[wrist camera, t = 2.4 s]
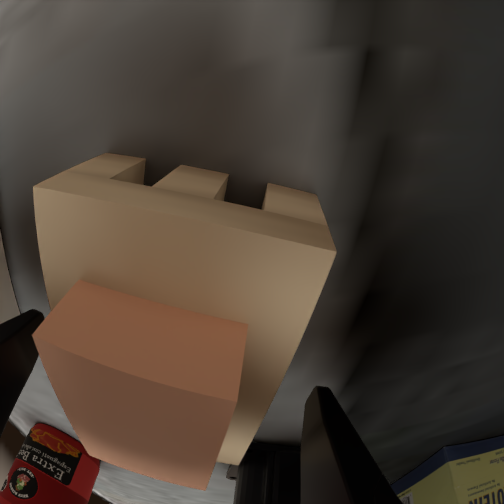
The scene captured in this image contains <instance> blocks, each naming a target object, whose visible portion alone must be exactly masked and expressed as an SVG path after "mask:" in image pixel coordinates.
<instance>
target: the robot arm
mask: <svg viewBox="0 0 504 504" xmlns="http://www.w3.org/2000/svg"><path fill="white" fill-rule="evenodd" d="M43 321H44V315H43V313H42V312H40V311H37V310H35V309H31V310H29V311H27V312H24V313H22V314H20V315H18V316H16V317H14V318H12V319H10V320H7V321H5V322H3V323H1V324H0V437H1V435H2V432H3V430H4V428H5V426H6V423H7V421H8V419H9V417H10V414H11V412H12V410H13V408H14V406H15V404H16V402H17V400H18V398H19V396H20V394H21V392H22V390H23V388H24V386H25V384H26V382H27V380H28V378H29V376H30V374H31V372H32V370H33V368H34V365H35V363H36V360H37V358H38V356H39V353H38V350H37V348H36V345H35V342H34V339H33V337H32V334H33V333H34V332H35V331H36V329H37V328H38V327H39V326H40V324H41V323H42V322H43ZM226 478H228V479H231V480H236V487H235V495H234V503H233V504H403V503H402V501H401V500H400V499H399V497H398V496H397V495H396V493H395V492H394V490H393V489H392V487H391V486H390V484H389V483H388V481H387V480H386V478H385V476H384V475H382V472H381V470H380V469H379V467H378V465H377V464H376V462H375V461H374V459H373V457H372V456H371V454H370V453H369V451H368V449H367V448H366V446H365V445H364V443H363V441H362V440H361V438H360V437H359V435H358V433H357V432H356V430H355V428H354V427H353V425H352V424H351V422H350V420H349V419H348V417H347V416H346V414H345V412H344V411H343V409H342V408H341V406H340V404H339V403H338V401H337V399H336V398H335V396H334V395H333V393H332V391H331V390H330V389H329V388H328V387H324V386H316V387H315V388H314V389H313V391H312V392H311V394H310V396H309V397H308V399H307V401H306V404H305V411H304V421H303V431H302V440H301V448H298V447H287V446H278V445H270V444H262V443H255V442H251V443H250V445H249V447H248V449H247V451H246V453H245V454H244V456H243V458H242V460H241V462H240V463H239V465H233V464H231V465H230V467H229V469H228V471H227V475H226Z"/></svg>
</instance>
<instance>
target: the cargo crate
mask: <svg viewBox="0 0 504 504" xmlns="http://www.w3.org/2000/svg"><path fill="white" fill-rule="evenodd" d="M247 330H248V324H245V323H240V322H236V321H231V320H227V319H222V318H218V317H214V316H209V315H205V314H201V313H197V312H193V311H189V310H185V309H181V308H177V307H173V306H169V305H165V304H161V303H158V302H154V301H150V300H147V299H143V298H139V297H136V296H132V295H129V294H125V293H122V292H118V291H115V290H112V289H108V288H105V287H102V286H98V285H95V284H92V283H89V282H85V281H82V280H78V281H77V282H76V283H75V284H74V286H73V287H72V288H71V289H70V290H69V291H68V292H67V293H66V295H65V296H64V297H63V298H62V299H61V300H60V302H59V303H58V304H57V305H56V306H55V307H54V309H53V310H52V311H51V312H50V313H49V315H48V316H47V317H46V318H45V319H44V321H43V322H42V323H41V324H40V326H39V327H38V328H37V329H36V331H35V332H34V333H33V334H32V337H33V339H34V342H35V345H36V348H37V350H38V353H39V356H40V358H41V361H42V363H43V366H44V368H45V371H46V373H47V375H48V378H49V380H50V382H51V384H52V387H53V389H54V391H55V393H56V395H57V397H58V400H59V402H60V404H61V406H62V408H63V410H64V412H65V414H66V416H67V417H68V419H69V421H70V423H71V425H72V427H73V429H74V430H75V432H76V434H77V436H78V438H79V439H80V441H81V443H82V444H83V446H84V448H85V449H86V451H87V453H88V454H89V455H90V456H92V457H95V458H97V459H100V460H102V461H105V462H107V463H110V464H113V465H115V466H118V467H121V468H124V469H127V470H130V471H132V472H136V473H139V474H142V475H145V476H148V477H152V478H155V479H158V480H162V481H166V482H170V483H173V484H177V485H181V486H186V487H190V488H195V489H199V490H204V491H205V490H206V488H207V485H208V482H209V480H210V477H211V474H212V472H213V469H214V466H215V463H216V461H217V458H218V455H219V452H220V450H221V447H222V444H223V441H224V438H225V436H226V433H227V430H228V427H229V424H230V421H231V418H232V416H233V413H234V410H235V407H236V404H237V400H238V393H239V386H240V379H241V372H242V365H243V358H244V351H245V344H246V337H247Z"/></svg>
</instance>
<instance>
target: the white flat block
mask: <svg viewBox="0 0 504 504" xmlns="http://www.w3.org/2000/svg"><path fill="white" fill-rule="evenodd" d="M18 315H20V312H19V308H18V305H17V302H16V298H15V295H14V291H13V287H12V283H11V279H10V275H9V271H8V267H7V262H6V258H5V253H4V248H3V242H2V237H1V231H0V324H1V323H3V322H5V321H7V320H10V319H12V318H14V317H16V316H18Z"/></svg>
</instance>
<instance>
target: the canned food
mask: <svg viewBox="0 0 504 504" xmlns="http://www.w3.org/2000/svg"><path fill="white" fill-rule="evenodd" d="M99 468H100V461H99V459H97V458H95V457H92V456H90V455H89V454H88V453H87V451H86V449H85V448H84V446H83V444H81V443H80V442H78V441H77V440H75V439H74V438H72V437H70V436H69V435H67V434H65V433H64V432H62V431H60V430H58V429H56V428H54V427H51V426H49V425H46V424H42V423H38V424H36V425H35V426H34V427H32V428H31V430H30V432H29V433H28V435H27V437H26V439H25V441H24V443H23V445H22V447H21V449H20V451H19V453H18V455H17V457H16V459H15V461H14V463H13V465H12V467H11V469H10V471H9V473H8V476H7V478H6V480H5V482H4V484H3V486H2V489H1V491H0V504H88V501H89V498H90V495H91V492H92V489H93V487H94V484H95V481H96V478H97V475H98V473H99Z"/></svg>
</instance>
